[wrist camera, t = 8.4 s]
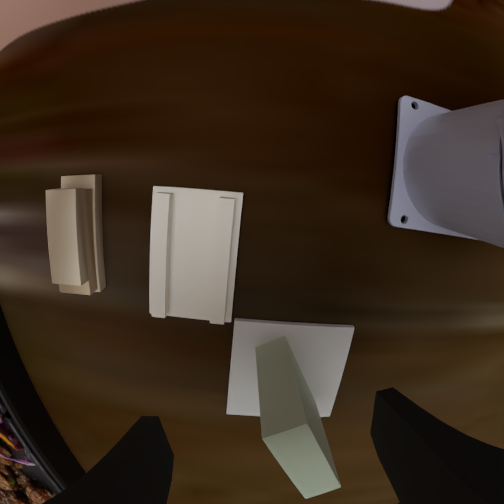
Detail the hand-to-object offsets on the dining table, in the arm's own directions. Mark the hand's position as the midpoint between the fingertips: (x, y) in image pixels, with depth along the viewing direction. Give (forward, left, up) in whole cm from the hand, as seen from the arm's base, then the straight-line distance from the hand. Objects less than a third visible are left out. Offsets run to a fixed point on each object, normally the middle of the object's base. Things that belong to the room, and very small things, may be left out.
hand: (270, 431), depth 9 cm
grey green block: (-3, +5, -10) cm, 11 cm away
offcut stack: (+11, -4, -11) cm, 16 cm away
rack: (+4, -3, -10) cm, 12 cm away
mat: (-3, +5, -10) cm, 12 cm away
